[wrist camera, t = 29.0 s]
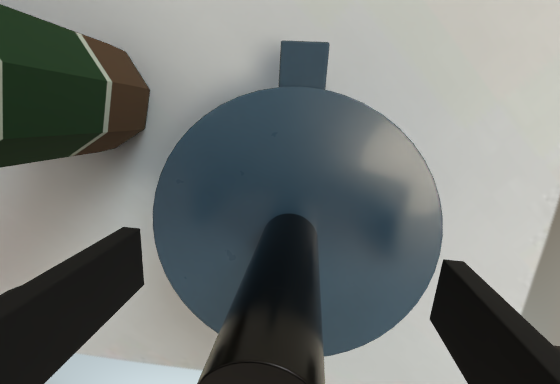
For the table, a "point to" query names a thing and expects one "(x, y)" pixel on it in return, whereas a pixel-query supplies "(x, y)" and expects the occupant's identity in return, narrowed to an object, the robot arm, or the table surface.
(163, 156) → the table surface
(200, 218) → the lid
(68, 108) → the beer bottle
